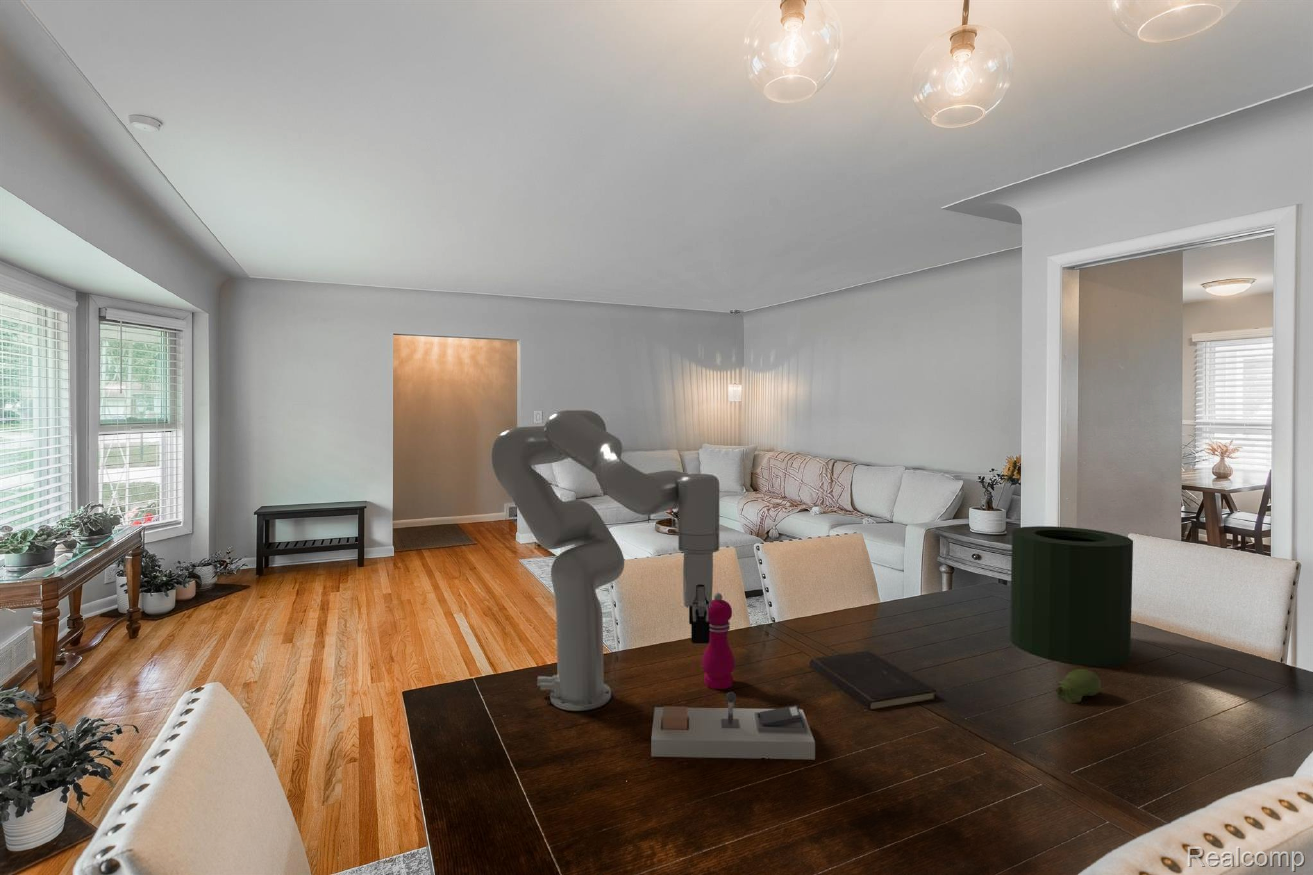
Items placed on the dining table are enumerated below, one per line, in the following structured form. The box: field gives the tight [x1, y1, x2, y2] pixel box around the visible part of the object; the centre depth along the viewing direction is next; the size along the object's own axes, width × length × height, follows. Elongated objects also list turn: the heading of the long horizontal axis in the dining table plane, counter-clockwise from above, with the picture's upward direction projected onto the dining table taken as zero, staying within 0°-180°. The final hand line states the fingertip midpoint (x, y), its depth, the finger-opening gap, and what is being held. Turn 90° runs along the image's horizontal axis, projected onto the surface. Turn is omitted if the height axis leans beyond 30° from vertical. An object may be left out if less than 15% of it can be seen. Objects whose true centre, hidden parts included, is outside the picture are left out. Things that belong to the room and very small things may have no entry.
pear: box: [1055, 668, 1102, 704], centre depth 132 cm, size 6×5×10 cm
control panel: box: [650, 706, 816, 760], centre depth 116 cm, size 28×12×4 cm, turn 87°
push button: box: [662, 705, 688, 730], centre depth 116 cm, size 4×4×3 cm
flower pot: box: [1009, 525, 1134, 668], centre depth 159 cm, size 25×25×28 cm
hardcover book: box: [809, 650, 937, 711], centre depth 140 cm, size 16×23×2 cm
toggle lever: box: [725, 691, 737, 724], centre depth 114 cm, size 2×2×7 cm
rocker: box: [759, 704, 802, 727], centre depth 115 cm, size 7×4×1 cm, turn 87°
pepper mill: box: [701, 592, 736, 690], centre depth 139 cm, size 7×7×20 cm
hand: (698, 633), depth 118 cm, fingers open, 9 cm apart
